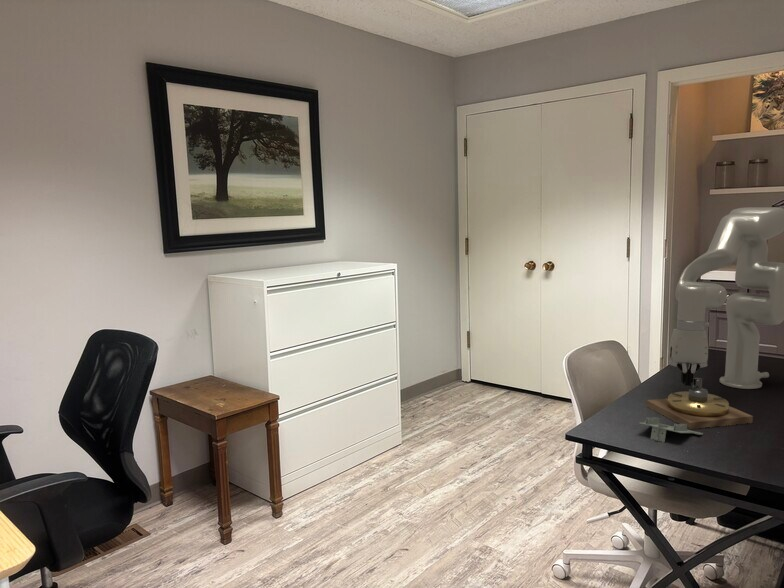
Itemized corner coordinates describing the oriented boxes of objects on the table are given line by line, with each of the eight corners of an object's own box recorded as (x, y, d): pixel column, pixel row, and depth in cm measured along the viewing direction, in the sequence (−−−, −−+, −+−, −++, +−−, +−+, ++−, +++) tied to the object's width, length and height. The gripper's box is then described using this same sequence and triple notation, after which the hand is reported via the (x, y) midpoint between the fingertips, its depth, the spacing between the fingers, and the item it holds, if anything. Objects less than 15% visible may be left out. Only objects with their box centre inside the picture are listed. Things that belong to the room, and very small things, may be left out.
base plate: (703, 400, 190) (703, 394, 189) (752, 422, 170) (752, 415, 170) (646, 406, 186) (646, 399, 186) (690, 429, 166) (690, 422, 166)
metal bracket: (688, 427, 154) (631, 414, 164) (685, 449, 153) (627, 435, 164) (705, 427, 164) (650, 415, 174) (702, 448, 164) (647, 435, 174)
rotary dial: (713, 398, 185) (714, 377, 184) (738, 416, 169) (740, 393, 168) (659, 398, 186) (660, 377, 185) (680, 416, 171) (681, 393, 170)
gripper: (712, 324, 184) (708, 382, 186) (660, 322, 186) (657, 380, 189) (721, 328, 176) (717, 389, 179) (667, 327, 179) (663, 387, 181)
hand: (686, 384), depth 184 cm, fingers closed
